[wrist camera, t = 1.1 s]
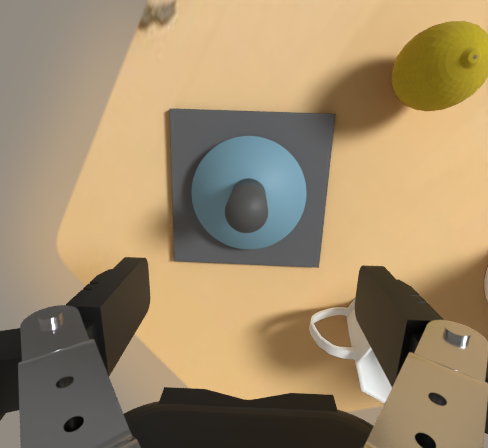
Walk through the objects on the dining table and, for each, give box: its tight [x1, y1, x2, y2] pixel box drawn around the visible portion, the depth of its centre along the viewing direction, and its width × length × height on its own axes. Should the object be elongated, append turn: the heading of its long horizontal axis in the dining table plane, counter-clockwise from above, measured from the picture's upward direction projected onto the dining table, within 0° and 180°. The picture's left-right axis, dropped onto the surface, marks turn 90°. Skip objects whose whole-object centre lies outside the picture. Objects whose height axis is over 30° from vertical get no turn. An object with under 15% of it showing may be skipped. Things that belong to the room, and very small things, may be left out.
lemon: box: [392, 21, 488, 111], centre depth 22 cm, size 6×6×8 cm
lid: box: [192, 136, 306, 249], centre depth 25 cm, size 10×10×7 cm
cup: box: [309, 299, 392, 403], centre depth 29 cm, size 7×10×8 cm
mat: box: [170, 109, 335, 268], centre depth 29 cm, size 14×14×1 cm
